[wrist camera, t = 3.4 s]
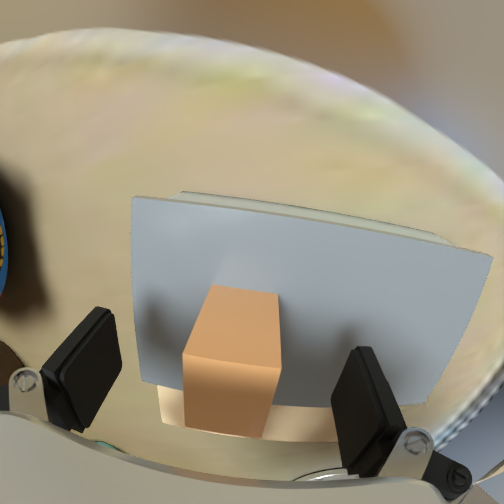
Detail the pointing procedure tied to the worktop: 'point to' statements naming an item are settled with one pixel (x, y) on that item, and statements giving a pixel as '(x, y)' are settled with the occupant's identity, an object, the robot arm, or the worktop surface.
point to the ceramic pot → (3, 254)
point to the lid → (288, 308)
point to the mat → (277, 425)
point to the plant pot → (7, 364)
